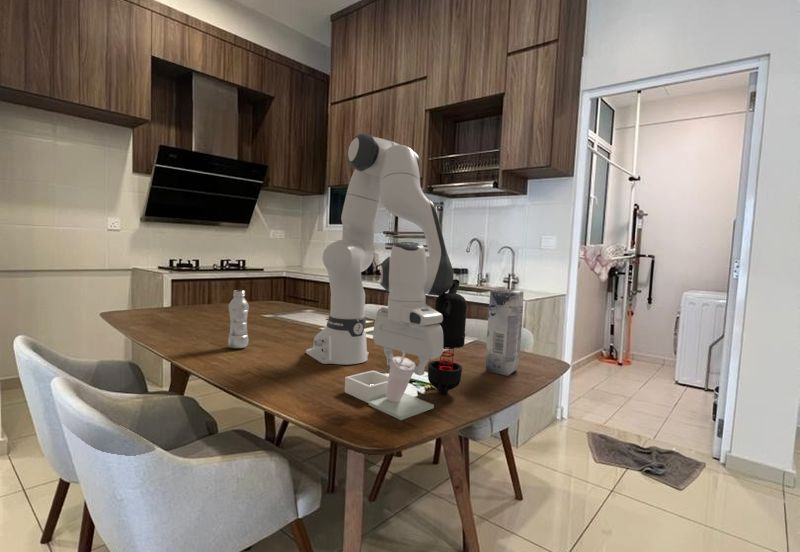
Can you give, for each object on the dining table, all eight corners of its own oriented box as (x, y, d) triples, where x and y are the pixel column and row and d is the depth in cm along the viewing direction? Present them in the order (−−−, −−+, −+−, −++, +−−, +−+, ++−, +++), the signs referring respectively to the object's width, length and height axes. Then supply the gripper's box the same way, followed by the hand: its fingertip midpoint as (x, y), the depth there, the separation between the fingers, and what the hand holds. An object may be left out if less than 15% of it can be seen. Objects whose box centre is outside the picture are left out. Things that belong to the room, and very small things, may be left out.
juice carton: (520, 370, 136) (526, 286, 134) (509, 378, 127) (516, 288, 125) (494, 364, 141) (499, 284, 138) (482, 371, 132) (487, 286, 130)
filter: (431, 383, 118) (439, 277, 114) (464, 389, 115) (472, 280, 112) (418, 401, 105) (425, 282, 102) (454, 408, 102) (463, 285, 99)
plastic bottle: (252, 347, 147) (253, 290, 146) (235, 351, 141) (236, 292, 140) (240, 344, 151) (241, 289, 149) (223, 348, 145) (224, 290, 143)
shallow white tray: (344, 392, 109) (345, 376, 108) (372, 384, 115) (373, 370, 115) (368, 403, 102) (369, 387, 101) (397, 394, 108) (398, 379, 108)
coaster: (368, 405, 101) (368, 401, 101) (401, 394, 108) (401, 391, 108) (401, 420, 93) (401, 416, 93) (433, 408, 101) (433, 404, 101)
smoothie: (388, 386, 107) (402, 337, 103) (410, 398, 104) (425, 348, 100) (375, 397, 101) (390, 345, 97) (398, 409, 98) (414, 357, 95)
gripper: (367, 307, 104) (366, 362, 105) (429, 319, 89) (427, 383, 90) (386, 305, 108) (385, 358, 109) (448, 316, 94) (446, 377, 95)
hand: (404, 369), depth 100 cm, fingers open, 8 cm apart
